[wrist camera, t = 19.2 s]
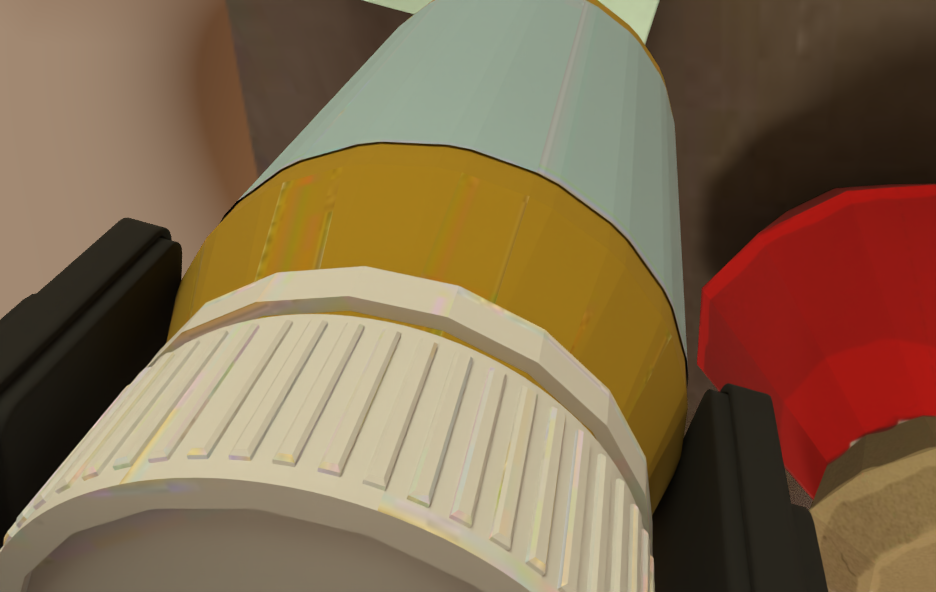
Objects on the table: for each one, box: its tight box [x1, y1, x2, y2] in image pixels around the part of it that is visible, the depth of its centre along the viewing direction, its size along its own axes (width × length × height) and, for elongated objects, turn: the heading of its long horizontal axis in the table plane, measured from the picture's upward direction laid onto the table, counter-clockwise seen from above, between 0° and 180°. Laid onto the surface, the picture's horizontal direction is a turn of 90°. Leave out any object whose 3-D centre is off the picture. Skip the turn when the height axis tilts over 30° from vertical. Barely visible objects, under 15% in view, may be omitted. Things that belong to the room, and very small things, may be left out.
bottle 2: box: [697, 184, 936, 592], centre depth 35 cm, size 16×14×20 cm
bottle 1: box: [0, 0, 688, 592], centre depth 14 cm, size 7×7×15 cm
